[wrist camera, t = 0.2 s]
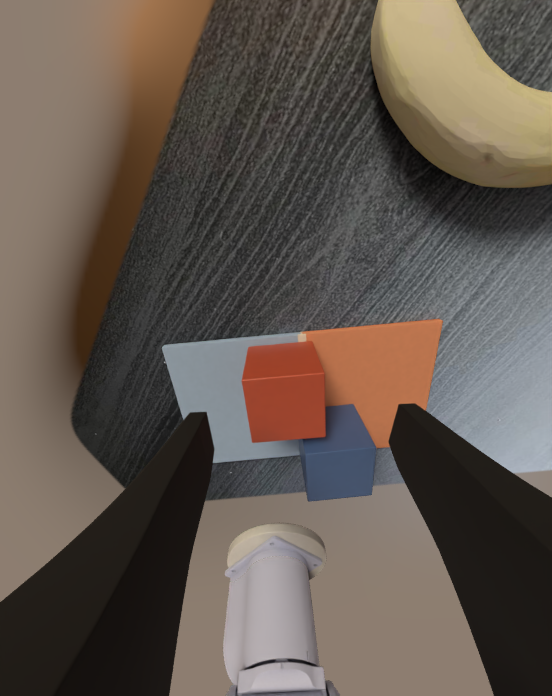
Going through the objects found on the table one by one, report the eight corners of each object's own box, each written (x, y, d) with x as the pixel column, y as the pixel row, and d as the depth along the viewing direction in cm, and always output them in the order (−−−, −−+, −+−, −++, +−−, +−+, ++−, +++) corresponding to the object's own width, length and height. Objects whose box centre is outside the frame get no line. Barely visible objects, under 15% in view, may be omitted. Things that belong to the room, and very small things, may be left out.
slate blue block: (299, 451, 21) (307, 502, 17) (296, 409, 19) (305, 454, 15) (351, 446, 21) (372, 495, 17) (353, 403, 19) (376, 447, 15)
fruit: (565, 228, 15) (639, 226, 12) (333, 142, 13) (353, 115, 10) (666, 74, 13) (794, 23, 10) (395, -65, 10) (447, -187, 7)
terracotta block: (255, 399, 19) (251, 443, 15) (247, 346, 17) (241, 380, 13) (314, 394, 19) (325, 437, 15) (312, 340, 17) (325, 372, 13)
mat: (198, 460, 22) (196, 465, 22) (164, 344, 18) (161, 348, 17) (416, 440, 22) (419, 444, 21) (438, 318, 17) (443, 321, 17)
